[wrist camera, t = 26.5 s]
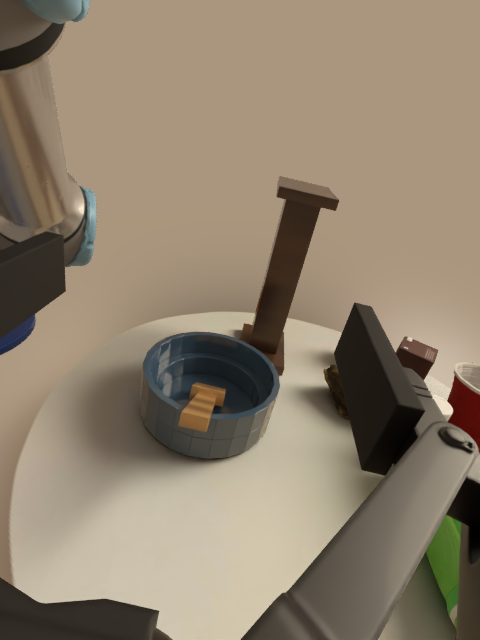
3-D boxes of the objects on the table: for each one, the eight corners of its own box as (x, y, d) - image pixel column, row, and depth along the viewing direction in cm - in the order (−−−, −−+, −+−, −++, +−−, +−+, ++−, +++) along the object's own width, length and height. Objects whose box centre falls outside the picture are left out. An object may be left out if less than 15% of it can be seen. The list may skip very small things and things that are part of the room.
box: (415, 396, 62) (434, 363, 59) (381, 379, 65) (398, 346, 61) (421, 381, 67) (439, 349, 63) (389, 366, 69) (405, 335, 66)
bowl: (114, 393, 48) (116, 351, 45) (212, 357, 60) (219, 321, 57) (193, 488, 38) (202, 444, 35) (291, 422, 50) (305, 384, 47)
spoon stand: (281, 375, 59) (339, 200, 46) (235, 364, 59) (279, 186, 46) (281, 339, 70) (328, 187, 56) (242, 329, 70) (279, 176, 56)
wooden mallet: (217, 435, 29) (222, 413, 29) (166, 423, 29) (171, 401, 29) (223, 401, 50) (225, 389, 50) (192, 394, 50) (195, 382, 50)
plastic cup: (467, 421, 59) (507, 364, 53) (511, 478, 49) (566, 416, 44) (406, 412, 58) (441, 352, 52) (440, 469, 48) (487, 403, 42)
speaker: (382, 474, 45) (407, 433, 42) (436, 485, 46) (465, 445, 42) (443, 653, 30) (491, 612, 26) (524, 667, 30) (582, 628, 27)
